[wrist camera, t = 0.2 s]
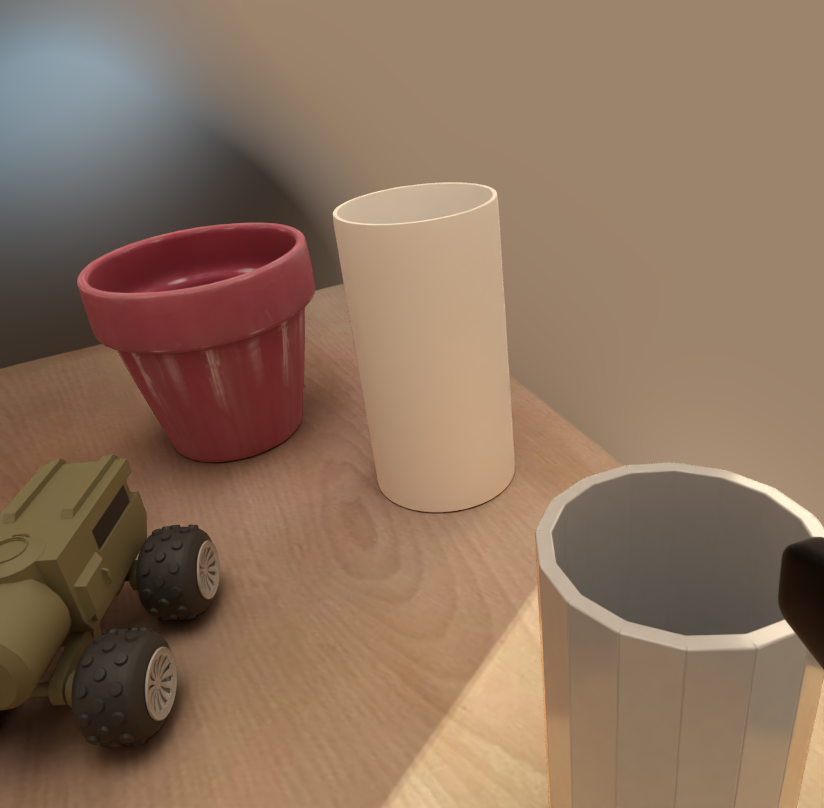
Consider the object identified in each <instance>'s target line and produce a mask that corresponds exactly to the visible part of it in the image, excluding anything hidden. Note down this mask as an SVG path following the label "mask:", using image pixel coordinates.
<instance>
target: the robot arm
mask: <svg viewBox="0 0 824 808" xmlns="http://www.w3.org/2000/svg"><path fill="white" fill-rule="evenodd" d="M778 604H779V608H780V611H781V613H782V615H783V617H784V619H785V620H786V622H787V623H788V625H789V626H790V627H791V629H792V630H793V631H794V632H795V634H796V635H797V636H798V638H799V639H800V640H801V641H802V643H803V644H804V645H805V646H806V648H807V649H808V650H809V652H810V653H811V654H812V655H813V657H814V658H815V659H816V661H817V662H818V663H819V664H820V666H821V667H822V668H823V670H824V537H811V538H808V539H805V540H802V541H799V542H796V543H793V544H790V545H789V546H787V547H786V548H785V550H784V551H783V553H782V559H781V569H780V580H779V591H778Z"/></svg>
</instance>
